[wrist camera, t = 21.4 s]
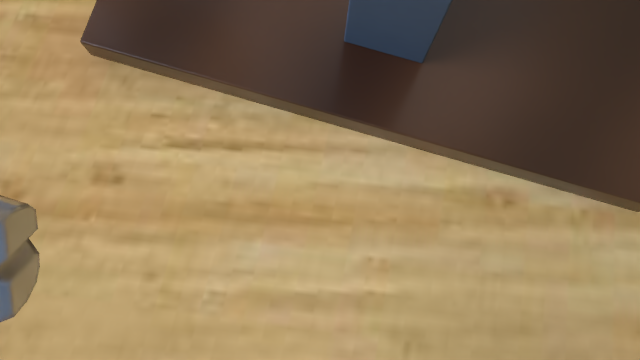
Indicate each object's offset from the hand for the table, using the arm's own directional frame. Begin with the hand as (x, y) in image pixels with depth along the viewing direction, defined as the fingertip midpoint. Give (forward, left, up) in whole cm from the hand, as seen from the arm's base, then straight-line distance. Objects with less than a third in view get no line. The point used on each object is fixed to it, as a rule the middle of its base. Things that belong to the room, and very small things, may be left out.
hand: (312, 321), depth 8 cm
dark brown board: (0, +15, -14) cm, 20 cm away
